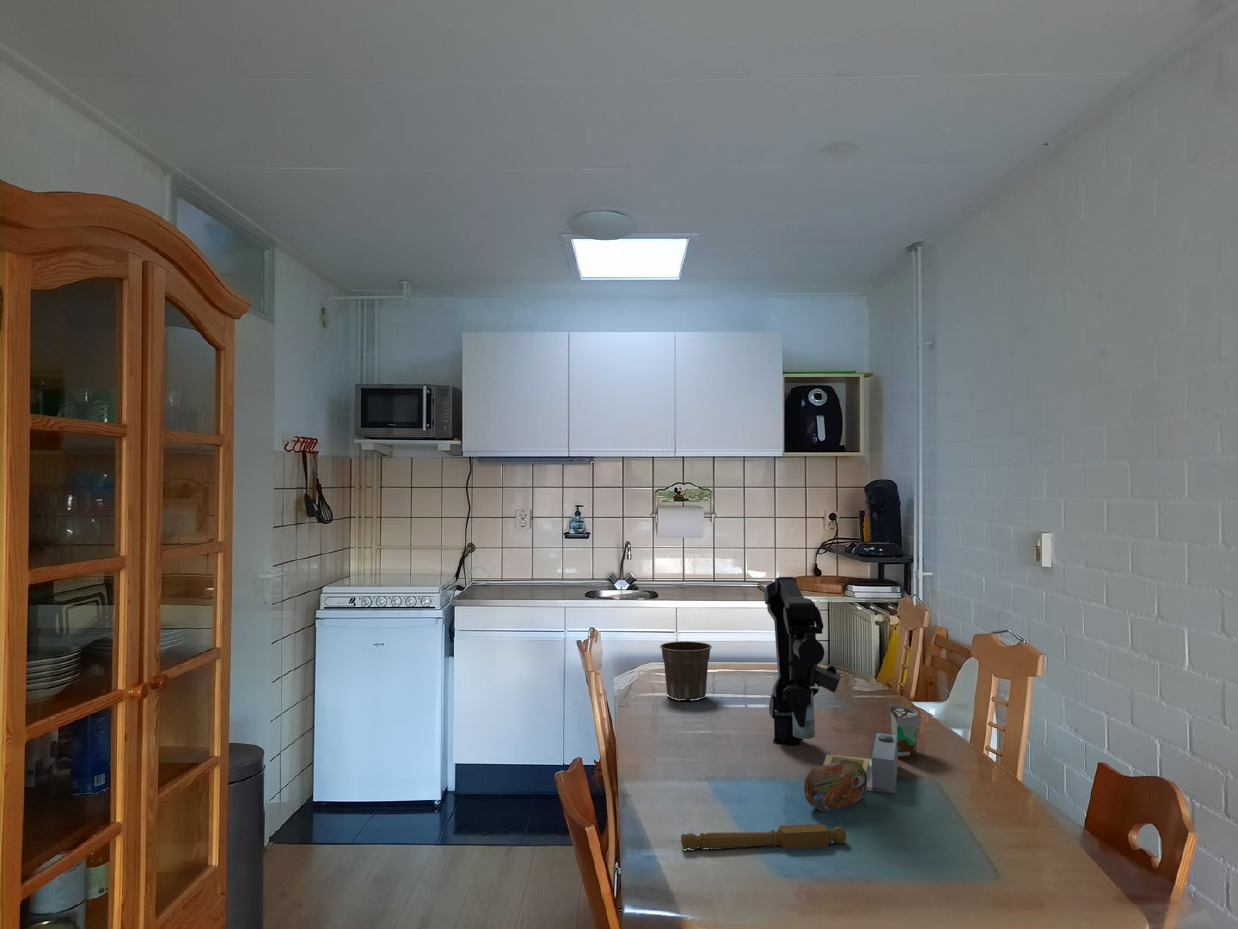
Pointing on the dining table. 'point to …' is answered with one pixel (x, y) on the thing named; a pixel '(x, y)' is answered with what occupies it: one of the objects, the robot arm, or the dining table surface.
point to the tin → (835, 785)
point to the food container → (904, 730)
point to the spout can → (809, 724)
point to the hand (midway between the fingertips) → (803, 724)
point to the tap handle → (769, 838)
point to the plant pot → (686, 668)
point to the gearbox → (877, 764)
